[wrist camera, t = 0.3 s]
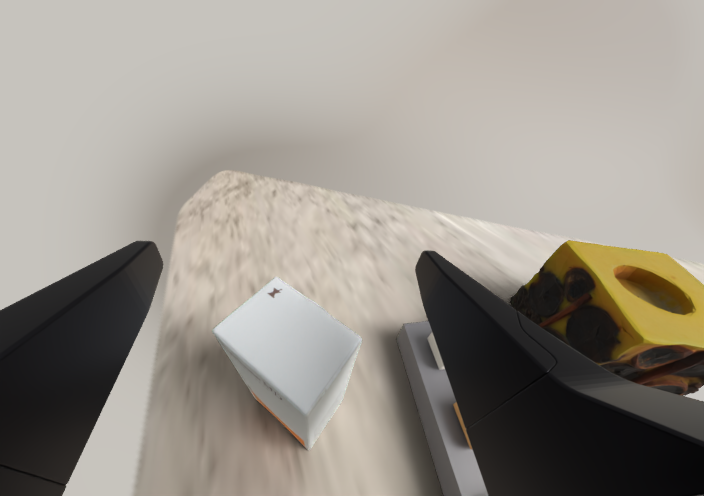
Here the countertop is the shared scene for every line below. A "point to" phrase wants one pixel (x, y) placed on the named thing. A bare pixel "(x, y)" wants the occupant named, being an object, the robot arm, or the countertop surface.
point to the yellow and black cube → (622, 312)
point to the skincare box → (290, 356)
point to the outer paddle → (435, 351)
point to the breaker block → (439, 414)
